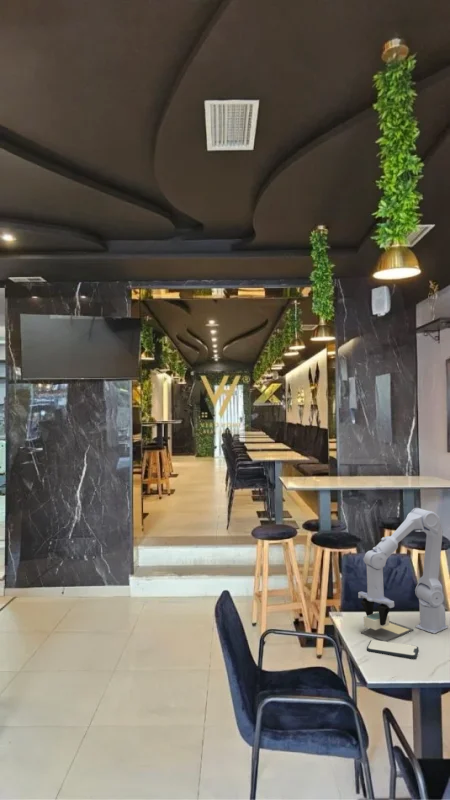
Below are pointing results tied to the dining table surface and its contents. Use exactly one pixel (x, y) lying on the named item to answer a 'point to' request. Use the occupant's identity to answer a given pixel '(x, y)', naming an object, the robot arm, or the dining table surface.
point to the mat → (387, 632)
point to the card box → (374, 621)
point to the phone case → (393, 649)
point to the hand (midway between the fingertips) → (376, 622)
